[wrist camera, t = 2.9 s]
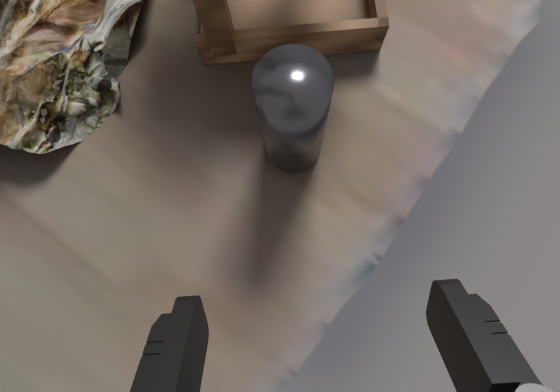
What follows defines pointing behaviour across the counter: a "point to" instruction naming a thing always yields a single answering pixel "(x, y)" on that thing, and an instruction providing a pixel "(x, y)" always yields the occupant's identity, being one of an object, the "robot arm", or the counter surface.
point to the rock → (60, 68)
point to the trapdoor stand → (287, 27)
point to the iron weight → (292, 104)
